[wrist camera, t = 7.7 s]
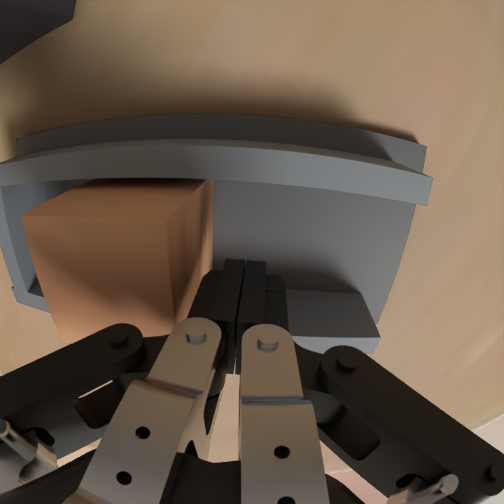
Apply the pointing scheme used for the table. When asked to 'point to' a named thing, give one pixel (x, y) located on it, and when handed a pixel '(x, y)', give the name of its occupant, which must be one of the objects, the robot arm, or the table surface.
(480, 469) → the robot arm
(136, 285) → the block
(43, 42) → the table surface
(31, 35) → the dark grey upright box
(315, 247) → the chute
